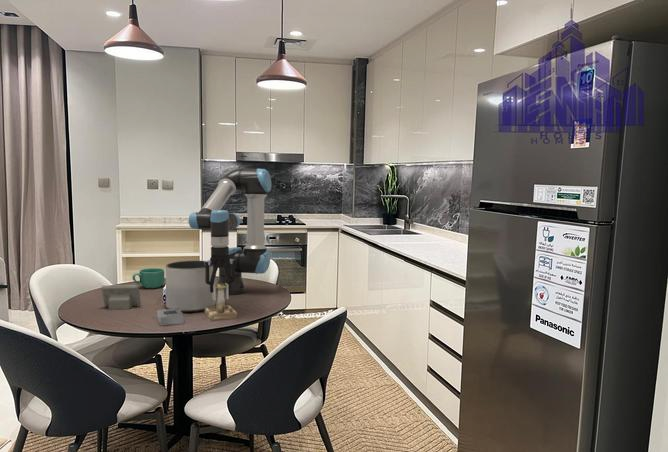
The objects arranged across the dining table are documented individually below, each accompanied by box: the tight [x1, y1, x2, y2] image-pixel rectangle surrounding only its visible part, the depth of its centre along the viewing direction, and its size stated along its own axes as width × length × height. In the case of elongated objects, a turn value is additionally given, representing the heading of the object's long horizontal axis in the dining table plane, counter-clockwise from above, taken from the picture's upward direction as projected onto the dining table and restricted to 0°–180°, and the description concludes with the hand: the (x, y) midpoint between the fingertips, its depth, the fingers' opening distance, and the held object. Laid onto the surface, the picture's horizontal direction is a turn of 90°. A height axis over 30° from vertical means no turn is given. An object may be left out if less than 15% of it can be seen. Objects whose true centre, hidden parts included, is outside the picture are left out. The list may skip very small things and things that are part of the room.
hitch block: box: [156, 308, 185, 327], centre depth 202 cm, size 12×9×4 cm
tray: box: [204, 304, 238, 322], centre depth 211 cm, size 14×11×2 cm
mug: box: [132, 267, 165, 290], centre depth 263 cm, size 17×13×10 cm
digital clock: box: [101, 284, 142, 311], centre depth 222 cm, size 16×9×11 cm, turn 86°
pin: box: [215, 283, 226, 313], centre depth 211 cm, size 5×5×12 cm
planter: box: [165, 260, 217, 313], centre depth 224 cm, size 23×23×20 cm
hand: (220, 298), depth 211 cm, fingers closed on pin, 5 cm apart
